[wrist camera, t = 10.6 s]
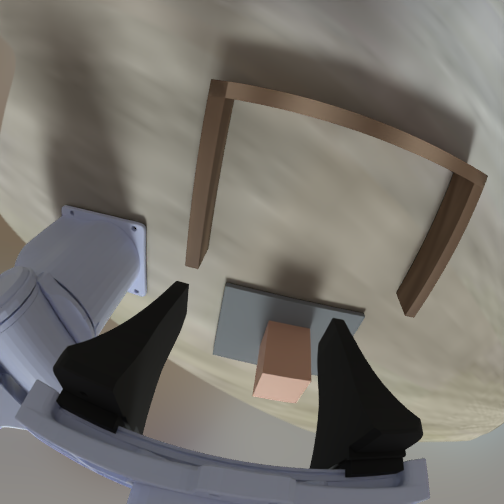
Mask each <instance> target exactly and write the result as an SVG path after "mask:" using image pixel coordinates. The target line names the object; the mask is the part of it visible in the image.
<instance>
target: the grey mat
mask: <svg viewBox="0 0 504 504" xmlns="http://www.w3.org/2000/svg"><path fill="white" fill-rule="evenodd" d="M332 318H337V319H342V320H344V321H345V323H346V325H347V327H348V328H349V330H350V332H351V334H352V336H353V335H354V334H355V332H356V331H357V329H358V327H359V326H360V324H361V323H362V321H363V319H364V318H365V315H364V313H360V312H355V311H350V310H345V309H340V308H336V307H331V306H326V305H321V304H317V303H312V302H308V301H303V300H299V299H294V298H290V297H285V296H281V295H277V294H272V293H268V292H264V291H259V290H255V289H251V288H247V287H243V286H239V285H235V284H230V283H226V286H225V291H224V296H223V301H222V307H221V312H220V317H219V323H218V328H217V334H216V339H215V345H214V350H213V355H217V356H221V357H226V358H230V359H234V360H238V361H243V362H247V363H252V364H256V365H257V362H258V355H259V348H260V344H261V342H262V339H263V336H264V333H265V330H266V327H267V324H268V322H269V320H270V321H275V322H279V323H284V324H289V325H294V326H299V327H304V328H309V329H310V339H311V375H318V371H317V354H318V343H319V342H320V340H321V338H322V336H323V335H324V333H325V331H326V329H327V327H328V325H329V324H330V322H331V320H332Z"/></svg>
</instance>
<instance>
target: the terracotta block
mask: <svg viewBox="0 0 504 504" xmlns="http://www.w3.org/2000/svg"><path fill="white" fill-rule="evenodd" d="M310 382H311V339H310V329H309V328H304V327H299V326H294V325H289V324H284V323H279V322H275V321H270V320H269V322H268V324H267V327H266V330H265V333H264V336H263V339H262V342H261V344H260V348H259V355H258V362H257V369H256V376H255V383H254V389H253V396H255V397H260V398H265V399H271V400H277V401H284V402H290V403H296V402H297V401H298V400H299V398H300V397H301V395H302V394H303V393H304V391H305V390H306V388H307V387H308V385H309V384H310Z"/></svg>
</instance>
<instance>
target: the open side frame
mask: <svg viewBox="0 0 504 504" xmlns="http://www.w3.org/2000/svg"><path fill="white" fill-rule="evenodd" d="M234 99H235V100H241V101H246V102H251V103H256V104H261V105H266V106H270V107H275V108H279V109H284V110H288V111H292V112H296V113H299V114H303V115H307V116H311V117H314V118H318V119H321V120H325V121H328V122H331V123H334V124H338V125H341V126H344V127H347V128H350V129H353V130H356V131H359V132H362V133H364V134H367V135H370V136H373V137H375V138H378V139H381V140H383V141H386V142H388V143H391V144H393V145H396V146H398V147H401V148H403V149H406V150H408V151H410V152H412V153H415V154H417V155H419V156H421V157H424V158H426V159H428V160H430V161H432V162H434V163H436V164H439V165H441V166H443V167H445V168H447V169H449V170H451V171H453V172H454V173H453V176H452V179H451V181H450V184H449V187H448V189H447V192H446V194H445V197H444V199H443V201H442V204H441V206H440V208H439V211H438V213H437V215H436V217H435V220H434V222H433V224H432V226H431V228H430V230H429V233H428V235H427V237H426V239H425V241H424V243H423V245H422V247H421V249H420V251H419V253H418V255H417V257H416V259H415V260H414V262H413V264H412V266H411V268H410V270H409V272H408V273H407V275H406V277H405V279H404V281H403V282H402V284H401V286H400V288H399V289H398V291H397V293H396V294H397V296H398V299H399V301H400V304H401V307H402V309H403V312H404V314H405V316H409V317H415V315H416V314H417V312H418V311H419V309H420V308H421V306H422V305H423V303H424V302H425V300H426V299H427V297H428V296H429V294H430V292H431V291H432V289H433V288H434V286H435V284H436V283H437V281H438V279H439V278H440V276H441V274H442V272H443V271H444V269H445V267H446V265H447V264H448V262H449V260H450V258H451V256H452V255H453V253H454V251H455V249H456V247H457V245H458V243H459V241H460V239H461V237H462V235H463V233H464V231H465V229H466V227H467V225H468V223H469V221H470V218H471V216H472V214H473V212H474V209H475V207H476V205H477V202H478V200H479V198H480V195H481V193H482V190H483V188H484V185H485V182H486V180H487V177H488V176H487V175H486V174H484V173H483V172H481V171H479V170H478V169H476V168H474V167H473V166H471V165H469V164H467V163H466V162H464V161H462V160H460V159H459V158H457V157H455V156H453V155H451V154H449V153H447V152H445V151H444V150H442V149H440V148H438V147H436V146H434V145H432V144H430V143H427V142H425V141H423V140H421V139H419V138H417V137H415V136H412V135H410V134H408V133H406V132H403V131H401V130H399V129H396V128H394V127H392V126H389V125H387V124H384V123H382V122H379V121H376V120H374V119H371V118H368V117H366V116H363V115H360V114H357V113H354V112H351V111H348V110H345V109H342V108H339V107H336V106H333V105H330V104H326V103H323V102H320V101H316V100H312V99H309V98H305V97H301V96H297V95H293V94H289V93H285V92H281V91H276V90H272V89H267V88H262V87H257V86H252V85H246V84H241V83H235V82H228V81H221V80H214V79H211V83H210V88H209V94H208V99H207V104H206V110H205V115H204V121H203V127H202V133H201V139H200V146H199V152H198V159H197V166H196V173H195V180H194V188H193V196H192V204H191V212H190V221H189V231H188V241H187V251H186V262H185V266H188V267H192V268H196V269H198V268H199V266H200V264H201V262H202V260H203V258H204V256H205V254H206V252H207V250H208V247H209V240H210V233H211V227H212V220H213V214H214V207H215V201H216V195H217V189H218V183H219V177H220V172H221V166H222V160H223V155H224V149H225V144H226V139H227V133H228V128H229V123H230V118H231V113H232V108H233V103H234Z"/></svg>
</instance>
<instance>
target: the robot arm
mask: <svg viewBox="0 0 504 504" xmlns="http://www.w3.org/2000/svg"><path fill="white" fill-rule="evenodd" d="M73 212H74V213H73ZM133 226H135V227H136V229H135V228H134V227H133ZM136 289H137V290H138V291H137V290H136ZM188 289H189V284H186V283H183V282H179V281H176V282H175V283H173V284H172V285H171V286H170V287H169V288H168V289H167V290H166V291H165V292H164V293H163V294H162V295H161V296H159V297H158V298H157V299H156V300H155V301H153V302H152V303H151V304H150V305H149V306H147V307H146V308H145V309H143V310H142V311H141V312H139V313H138V314H137V315H135V316H134V317H132V318H131V319H129V320H128V321H126V322H124V323H123V324H121V325H119V326H117V327H116V328H114V329H112V330H110V331H108V332H106V333H104V334H101V335H99V333H100V331H101V330H102V329H103V327H104V325H105V324H106V322H107V321H108V319H109V318H110V316H111V315H112V313H113V312H114V310H115V309H116V307H117V306H118V304H119V303H120V301H121V300H122V298H123V297H124V296H125V294H126V293H127V292H130V293H133V294H136V295H139V296H145V295H146V293H147V282H146V227H145V225H144V224H142V223H139V222H135V221H131V220H127V219H122V218H118V217H114V216H110V215H106V214H101V213H97V212H93V211H89V210H85V209H80V208H76V207H72V206H68V205H65V206H63V207H62V216H61V217H60V218H59V219H57V220H56V221H55V222H53V223H52V224H51V225H50V226H48V227H47V228H46V229H44V230H43V231H42V232H41V233H39V234H38V235H37V236H36V237H34V238H33V239H32V240H31V241H29V242H28V243H27V244H26V245H25V246H24V247H23V249H22V250H21V252H20V253H19V255H18V258H17V260H16V263H15V267H13V268H11V269H9V270H7V271H5V272H3V273H2V274H0V429H1V428H2V427H12V428H18V429H25V430H28V431H29V432H30V433H31V434H32V435H34V436H35V437H36V438H37V439H39V440H40V441H42V442H43V443H45V444H46V445H48V446H50V447H51V448H53V449H54V450H56V451H58V452H60V453H61V454H63V455H64V456H66V457H68V458H70V459H71V460H73V461H75V462H77V463H79V464H80V465H82V466H84V467H86V468H88V469H90V470H92V471H94V472H96V473H98V474H100V475H102V476H104V477H106V478H108V479H111V480H112V481H115V482H117V483H119V484H122V485H124V486H126V487H129V488H131V492H130V495H129V498H128V501H127V504H417V503H419V502H422V501H425V500H428V499H429V498H430V492H429V482H428V473H427V466H426V459H425V458H422V459H415V460H409V461H405V462H403V457H405V456H406V452H405V450H406V449H407V448H409V447H410V446H412V445H413V444H415V443H416V442H418V441H419V440H420V439H421V438H422V436H423V430H422V425H421V420H420V418H418V417H417V416H416V415H414V414H413V413H412V412H411V411H409V410H408V409H407V408H406V407H405V406H404V405H403V404H402V403H400V402H399V401H398V400H397V399H396V398H395V397H394V396H393V395H392V393H391V392H390V391H389V390H388V389H387V388H386V387H385V385H384V384H383V383H382V382H381V380H380V379H379V378H378V377H377V375H376V374H375V372H374V371H373V370H372V368H371V367H370V365H369V364H368V362H367V360H366V359H365V357H364V356H363V354H362V352H361V350H360V349H359V347H358V345H357V343H356V342H355V340H354V338H353V336H352V334H351V332H350V330H349V328H348V327H347V325H346V323H345V321H344V320H342V319H337V318H332V320H331V322H330V324H329V325H328V327H327V329H326V331H325V333H324V335H323V336H322V338H321V340H320V342H319V343H318V354H317V371H318V389H319V411H318V422H317V431H316V438H315V444H314V450H313V455H312V460H311V465H310V469H304V468H291V467H280V466H271V465H263V464H256V463H249V462H243V461H238V460H232V459H227V458H222V457H217V456H213V455H208V454H204V453H200V452H196V451H192V450H188V449H185V448H181V447H177V446H174V445H171V444H168V443H164V442H161V441H158V440H155V439H152V438H149V437H146V436H144V435H143V430H144V427H145V423H146V419H147V415H148V412H149V408H150V405H151V401H152V398H153V395H154V392H155V389H156V386H157V383H158V380H159V377H160V374H161V371H162V369H163V366H164V364H165V362H166V360H167V358H168V356H169V354H170V352H171V350H172V348H173V346H174V344H175V341H176V339H177V337H178V335H179V333H180V331H181V328H182V326H183V323H184V320H185V317H186V314H187V301H188ZM98 335H99V336H98Z"/></svg>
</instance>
